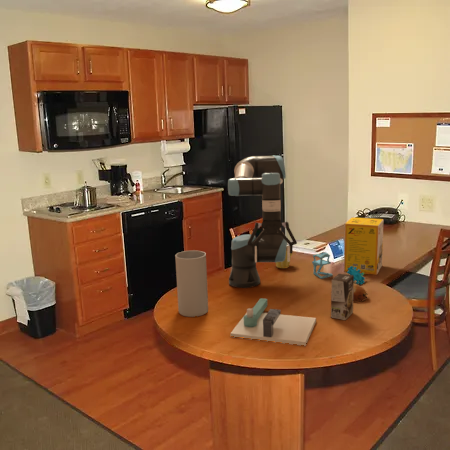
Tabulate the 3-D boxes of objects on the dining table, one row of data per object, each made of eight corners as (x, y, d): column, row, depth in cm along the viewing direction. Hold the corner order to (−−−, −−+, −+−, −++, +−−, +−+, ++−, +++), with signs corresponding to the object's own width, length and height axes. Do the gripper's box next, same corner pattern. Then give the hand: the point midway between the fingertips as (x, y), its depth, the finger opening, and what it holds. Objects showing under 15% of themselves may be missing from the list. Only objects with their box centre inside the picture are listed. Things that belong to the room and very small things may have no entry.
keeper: (262, 336, 186) (261, 321, 184) (270, 322, 197) (270, 308, 196) (272, 337, 184) (272, 322, 183) (280, 323, 196) (280, 309, 194)
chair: (321, 272, 260) (321, 249, 258) (332, 275, 254) (333, 252, 251) (309, 275, 256) (309, 252, 254) (321, 279, 249) (321, 255, 247)
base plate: (230, 336, 189) (230, 333, 189) (247, 314, 210) (247, 311, 209) (305, 346, 180) (305, 342, 180) (316, 321, 200) (316, 318, 200)
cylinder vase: (211, 306, 219) (209, 250, 214) (203, 318, 207) (201, 259, 202) (183, 305, 222) (180, 250, 216) (174, 316, 210) (171, 258, 204)
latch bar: (254, 327, 193) (254, 312, 191) (242, 326, 194) (241, 311, 193) (269, 305, 213) (269, 292, 212) (258, 304, 215) (257, 291, 213)
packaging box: (350, 262, 274) (351, 217, 268) (382, 265, 267) (383, 219, 261) (343, 271, 260) (344, 223, 254) (376, 274, 253) (378, 225, 247)
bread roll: (354, 300, 230) (348, 283, 231) (373, 296, 223) (366, 278, 224) (342, 307, 223) (336, 289, 224) (361, 302, 216) (354, 284, 217)
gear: (356, 284, 236) (345, 266, 240) (347, 290, 239) (337, 272, 244) (370, 282, 242) (360, 264, 247) (362, 288, 246) (352, 270, 251)
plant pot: (293, 263, 275) (292, 246, 273) (292, 269, 266) (292, 251, 263) (273, 263, 277) (273, 246, 275) (272, 269, 267) (271, 251, 265)
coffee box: (346, 320, 200) (346, 281, 197) (330, 317, 204) (330, 279, 200) (353, 312, 208) (354, 275, 204) (338, 309, 211) (338, 272, 207)
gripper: (241, 212, 206) (242, 263, 208) (303, 210, 205) (303, 262, 207) (241, 210, 213) (242, 260, 215) (300, 209, 213) (301, 259, 215)
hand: (272, 261), depth 211 cm, fingers open, 13 cm apart
